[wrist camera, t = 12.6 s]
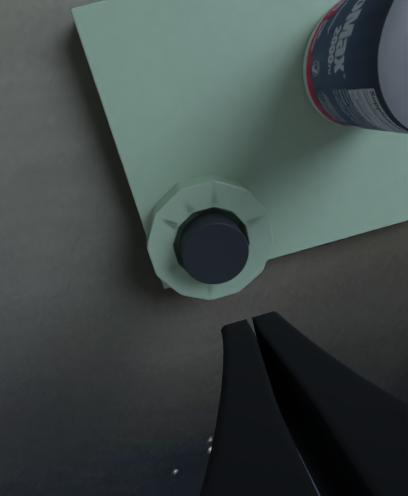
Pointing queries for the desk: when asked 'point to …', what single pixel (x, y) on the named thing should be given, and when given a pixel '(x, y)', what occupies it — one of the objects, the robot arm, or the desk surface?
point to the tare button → (213, 248)
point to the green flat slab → (233, 130)
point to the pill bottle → (360, 65)
